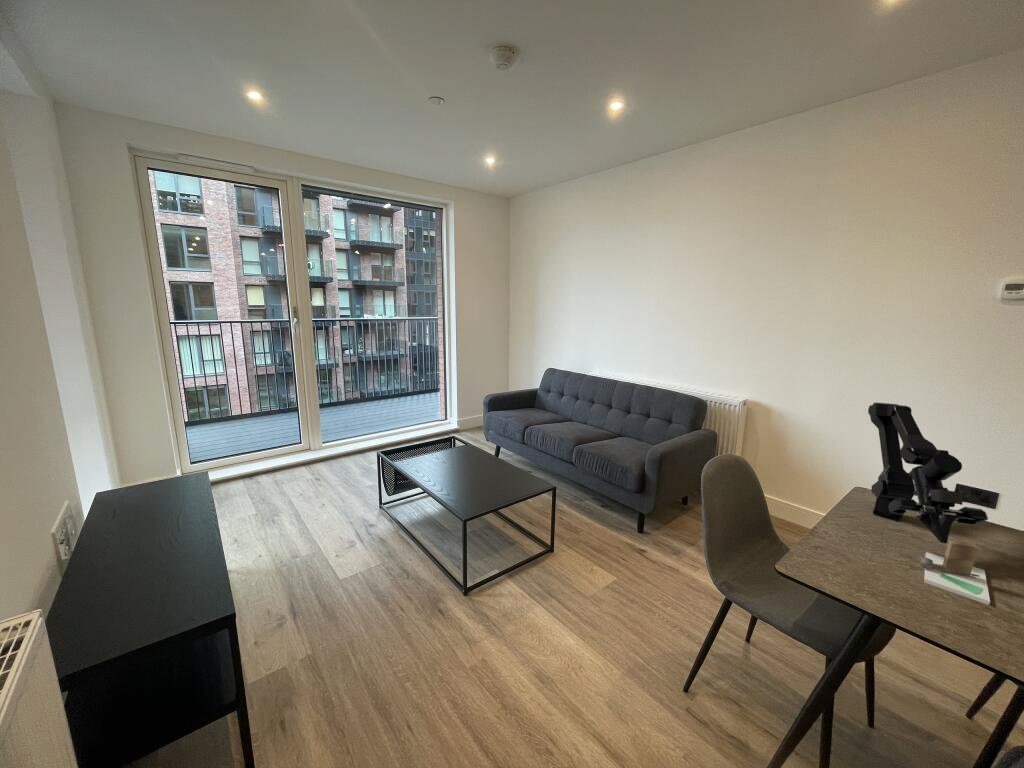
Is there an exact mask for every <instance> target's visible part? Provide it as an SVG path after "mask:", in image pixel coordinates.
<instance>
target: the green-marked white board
mask: <svg viewBox="0 0 1024 768" xmlns="http://www.w3.org/2000/svg"><path fill="white" fill-rule="evenodd" d="M924 557H925V558H929V559H931V560H932V561H933V564H939V565H943V561H944V558H945V556H940V555H937V554H933V553H931V552H927V551H926V552H925V555H924ZM971 574H975V575H979V576H980V577H978V576H972V575H970V576H968V575H963V574H957V573H952V572H946V571H942V570H936V569H926V568H924V578H923V579H924V581H923V583H924V584H928V585H931V586H933V587H936V588H940V589H942V590H944V591H947V592H951V593H953V594H956V595H959V596H962V597H965V598H967V599H971V600H973V601H976V602H979V603H982V604H984V605H987V606H990V603H991V599H990V594H989V587H988V582H987V577H986V572H985V569H981V568H979V567H975V566H973V568H972V571H971Z"/></svg>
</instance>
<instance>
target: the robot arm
mask: <svg viewBox="0 0 1024 768" xmlns="http://www.w3.org/2000/svg"><path fill="white" fill-rule="evenodd" d="M867 411H868V412H867V413H868V415H869V417H870V422H871V423H872V425H874V426H875V427H876V428H877V429H878V436H879V437H878V438H879V444H880V452H881V460H882V469H883V470H882V471H881V473H880V474H879V475H878V478H877V481H876V482H875V483H873V484H871V488H870V489H871V493H872V494H873V495H874V496H875V497H876V498H875V504H874V508H873V510H872V514H873V515H874V516H875V515H876V516H879V517H883V518H885V519H889V520H893V521H895V522H900V519H903V516H904V514H905V513H906V512H907V511H909V512H916V513H917V515H916V516H915V517H914V518H915V520H918V521H920V523H922V524H923V525H924V526H925V527H926V528H927V529H928V530H929V531H930V532H931V533H932V534H933V535H934V537H935V538H936V539H937V540H938V541H939V543H941V544H948V541H949V540H948V539H949V535H950V531H951V527H952V524H953V523H954V522H957V523H958V524H963V525H970V526H975V525H978V524H980V523H983V522H985V521H988V520H989V517H988V515H987V512H986V511H985V510H983V509H982V508H977V507H976V508H975V507H970V506H969V507H968V506H964V507H963V503H970V502H972V501H971V499H972V498H971V493H970V492H969V490H968V489H961V488H959V489H958V488H956V489H955V490H954V491H953V490H949V489H948V487H944V485H943V481H945V480H947V479H949V478H951V477H952V476H954V475H955V474H957V473H959V472H960V471H961V470H963V465H962V462H961V461H960V460H959V459H958V458H957V457H955V456H954V455H952V454H950V452H949V451H948V450H945V449H938V448H937V447H936V446H935V445H934V443H933V442H932V441H930V440H928V439H926V438H925V437H924V435H923V434H922V432H921V430H920V428H919V426H918V424H917V422H916V421H915V418H914V417H913V414H912V408H911V407H910V406H908V405H902V404H901V405H899V404H896V403H887V402H886V403H885V402H873V404H870V405H869V407H868V409H867ZM900 440H901V442H902V446H901V443H900ZM903 461H904V463H906V464H908V465H917V466H915V467H912V469H911V470H910V471H909V472H907V471H906V470H905V469H904V463H903ZM914 496H917V501H918V503H919V504H917V502H916V501H915V499H913V498H914ZM956 505H960V506H962V508H959V509H951V508H954V507H956Z"/></svg>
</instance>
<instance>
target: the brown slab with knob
mask: <svg viewBox="0 0 1024 768" xmlns="http://www.w3.org/2000/svg"><path fill="white" fill-rule="evenodd" d="M978 549H979V547H978V546H977V545H976V544H971V543H966V542H959V541H953V540H948V541H947V547H946V549H945V550H946V551H945V554H944V561H943V565H939V564H933V561H932V560H931V559H929V558H925V556H924V557H923V556H922V558H921V561H920V567H922V568H924V569H925V568H926V569H936V570H942V571H946V572H952V573H957V574H963V575H968V576H970V575H972V576H978V577H980V576H979V575H975V574H971V571H972V568H973V567H974V564H975V559H976V557H977V552H978Z"/></svg>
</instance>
